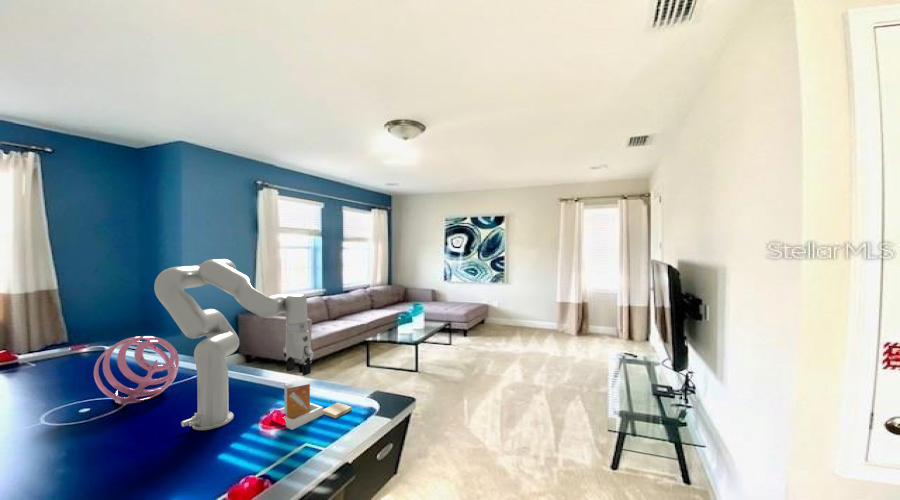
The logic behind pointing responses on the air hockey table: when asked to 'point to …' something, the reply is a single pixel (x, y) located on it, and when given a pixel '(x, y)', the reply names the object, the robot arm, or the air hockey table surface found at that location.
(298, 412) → the small box
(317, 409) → the tray
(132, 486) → the air hockey table surface
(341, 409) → the board
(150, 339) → the spiral basket
